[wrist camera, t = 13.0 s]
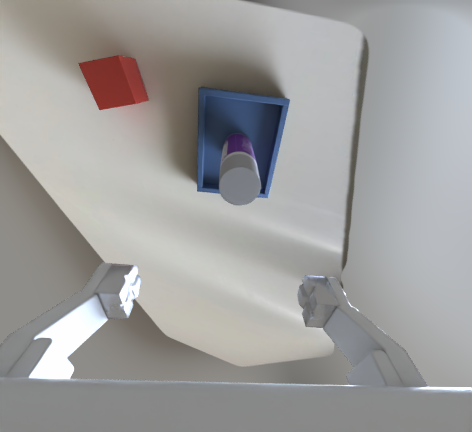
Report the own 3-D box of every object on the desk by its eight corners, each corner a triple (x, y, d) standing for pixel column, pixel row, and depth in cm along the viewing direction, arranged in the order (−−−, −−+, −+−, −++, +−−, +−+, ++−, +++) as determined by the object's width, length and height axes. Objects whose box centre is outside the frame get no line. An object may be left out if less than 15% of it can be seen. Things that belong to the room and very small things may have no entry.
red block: (100, 65, 29) (78, 63, 25) (135, 58, 28) (118, 55, 24) (117, 105, 31) (99, 110, 27) (149, 100, 31) (136, 103, 27)
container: (255, 137, 34) (268, 172, 21) (246, 164, 36) (253, 210, 24) (227, 128, 33) (223, 160, 20) (220, 157, 35) (213, 200, 23)
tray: (201, 86, 30) (198, 87, 28) (286, 98, 31) (290, 99, 29) (199, 185, 39) (197, 191, 37) (266, 191, 40) (268, 198, 38)
